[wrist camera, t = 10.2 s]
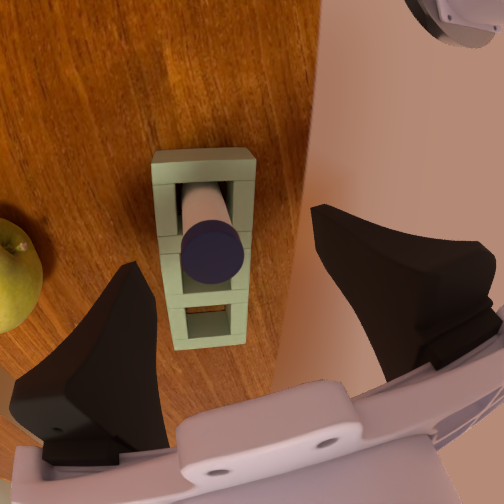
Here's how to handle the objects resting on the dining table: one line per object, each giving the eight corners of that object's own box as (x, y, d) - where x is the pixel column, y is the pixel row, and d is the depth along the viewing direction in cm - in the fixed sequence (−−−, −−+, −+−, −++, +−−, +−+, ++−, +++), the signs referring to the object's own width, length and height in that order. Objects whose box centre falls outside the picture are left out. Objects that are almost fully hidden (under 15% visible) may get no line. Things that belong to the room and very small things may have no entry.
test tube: (215, 165, 20) (236, 223, 14) (226, 203, 22) (250, 274, 15) (173, 178, 20) (171, 243, 13) (186, 215, 22) (193, 292, 15)
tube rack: (154, 150, 19) (150, 163, 16) (246, 147, 20) (256, 159, 18) (173, 325, 27) (174, 350, 25) (239, 319, 28) (245, 343, 26)
